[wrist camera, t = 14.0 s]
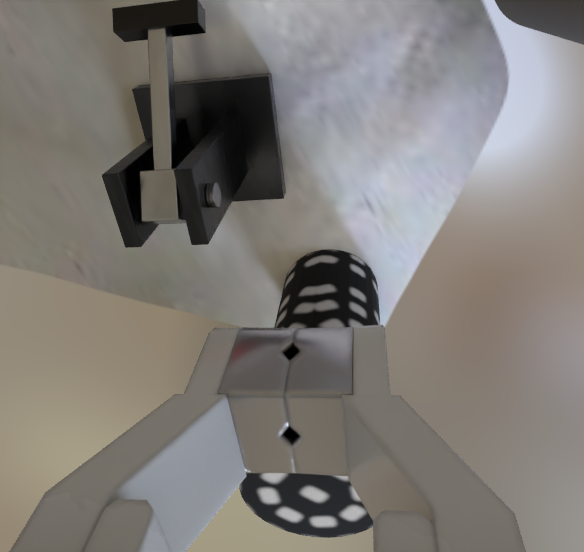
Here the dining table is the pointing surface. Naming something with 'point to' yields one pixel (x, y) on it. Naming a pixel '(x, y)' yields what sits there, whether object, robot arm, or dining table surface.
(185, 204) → the lever bracket
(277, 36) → the dining table surface
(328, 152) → the dining table surface
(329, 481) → the spotted tube
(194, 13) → the toast lever
